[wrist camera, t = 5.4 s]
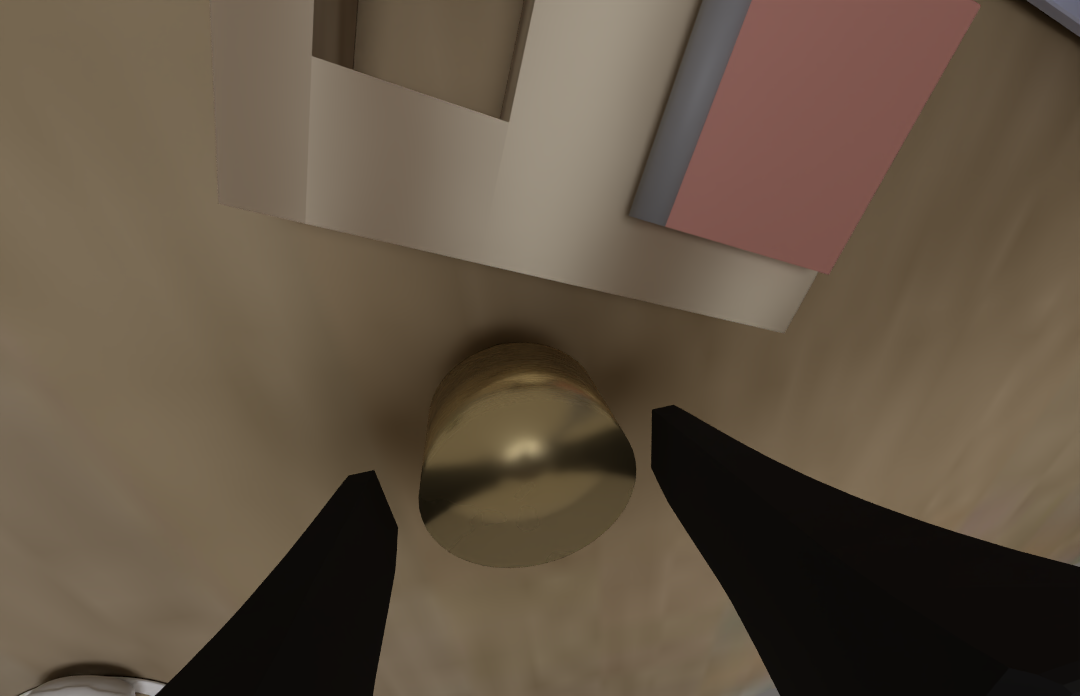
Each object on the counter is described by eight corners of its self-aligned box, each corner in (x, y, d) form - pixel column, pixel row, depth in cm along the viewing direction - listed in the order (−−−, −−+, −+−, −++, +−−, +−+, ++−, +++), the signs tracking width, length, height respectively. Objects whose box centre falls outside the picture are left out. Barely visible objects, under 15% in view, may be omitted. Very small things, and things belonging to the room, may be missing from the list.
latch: (950, 15, 9) (998, 0, 8) (811, 269, 11) (838, 277, 10) (733, -113, 7) (765, -147, 6) (623, 213, 10) (636, 218, 9)
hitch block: (882, -27, 11) (1016, -87, 8) (726, 302, 15) (784, 333, 12) (286, -393, 7) (176, -743, 4) (279, 193, 11) (217, 203, 8)
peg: (592, 324, 14) (668, 417, 9) (553, 438, 16) (596, 568, 11) (448, 294, 13) (439, 385, 8) (423, 424, 15) (403, 567, 9)
